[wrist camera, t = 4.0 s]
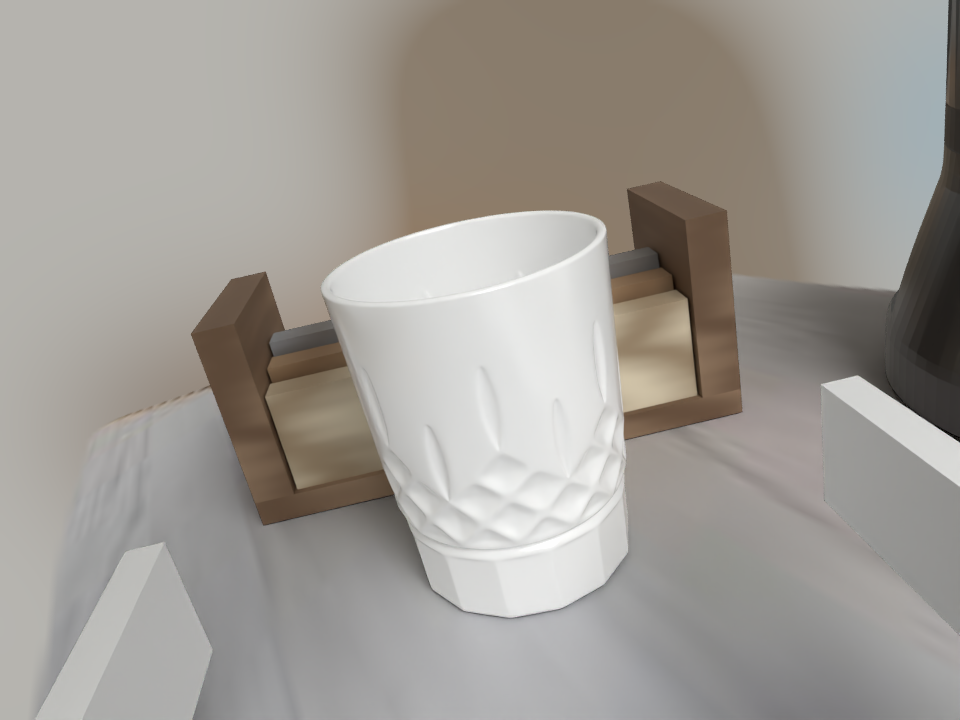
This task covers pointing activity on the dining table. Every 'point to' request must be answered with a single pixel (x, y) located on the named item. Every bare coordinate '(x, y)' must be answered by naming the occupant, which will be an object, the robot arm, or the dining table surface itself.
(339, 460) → the offcut rack
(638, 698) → the dining table surface
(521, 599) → the white cup
